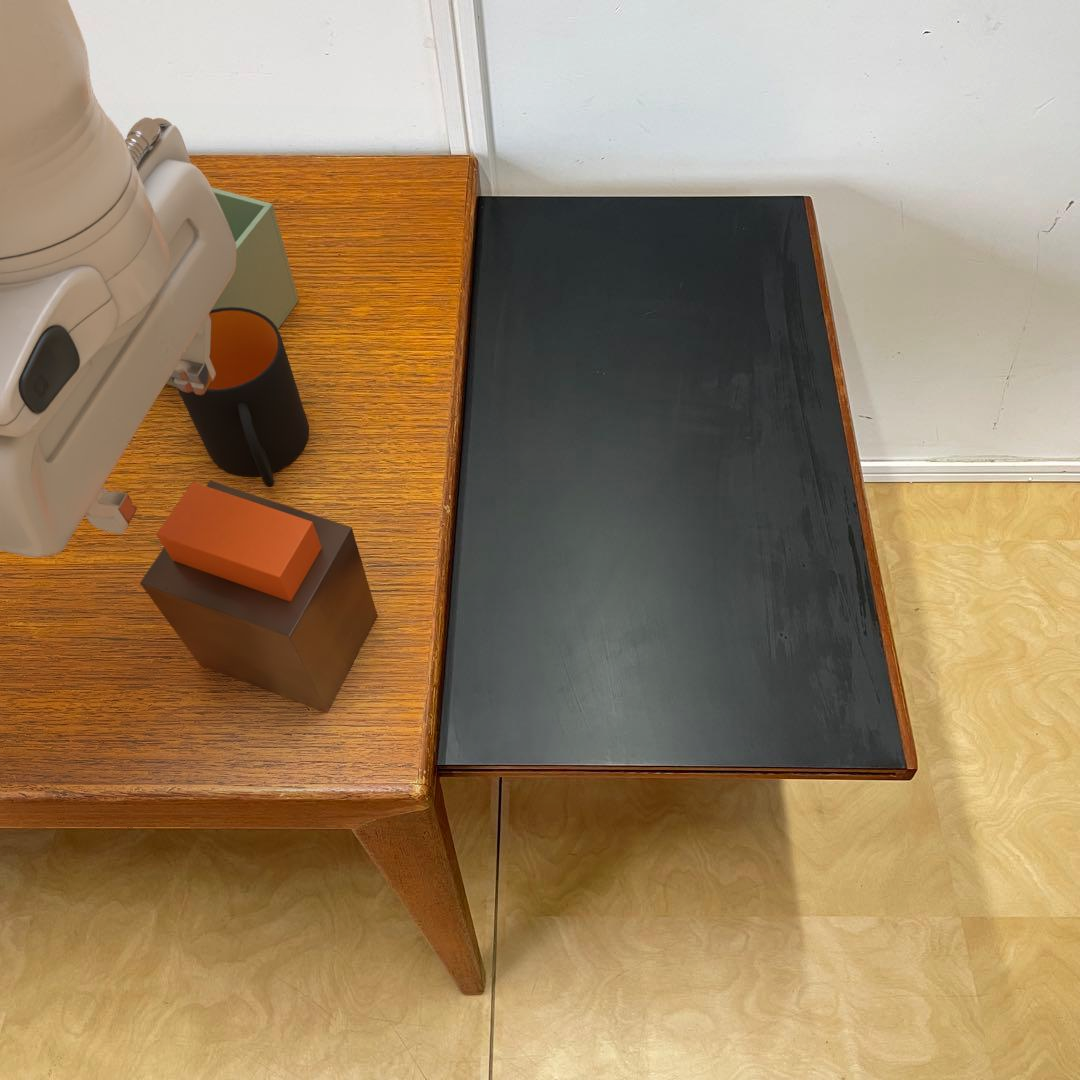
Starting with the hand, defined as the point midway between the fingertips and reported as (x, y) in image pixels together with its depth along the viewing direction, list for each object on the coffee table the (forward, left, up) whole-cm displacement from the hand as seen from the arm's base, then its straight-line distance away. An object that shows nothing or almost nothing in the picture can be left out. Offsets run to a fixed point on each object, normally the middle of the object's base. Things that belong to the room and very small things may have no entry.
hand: (159, 449), depth 49 cm
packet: (+3, 0, -8) cm, 9 cm away
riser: (+3, 0, -20) cm, 21 cm away
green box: (-20, +24, -20) cm, 37 cm away
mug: (-7, +14, -21) cm, 26 cm away
